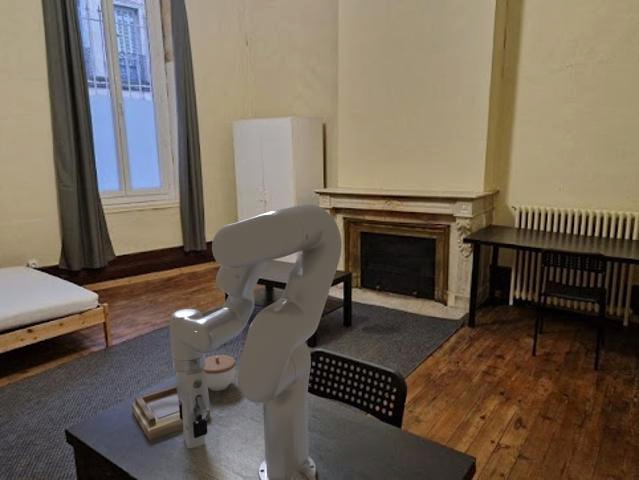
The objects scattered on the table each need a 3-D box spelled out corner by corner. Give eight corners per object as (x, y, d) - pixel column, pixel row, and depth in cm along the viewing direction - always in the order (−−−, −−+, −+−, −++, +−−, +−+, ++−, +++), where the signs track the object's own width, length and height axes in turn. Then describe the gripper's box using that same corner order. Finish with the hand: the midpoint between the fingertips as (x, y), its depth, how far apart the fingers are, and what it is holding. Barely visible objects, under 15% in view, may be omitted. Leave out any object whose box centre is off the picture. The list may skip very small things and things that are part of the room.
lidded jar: (218, 398, 132) (216, 368, 131) (193, 388, 138) (191, 359, 136) (243, 382, 141) (242, 354, 140) (218, 374, 147) (217, 347, 145)
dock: (210, 418, 123) (209, 404, 122) (149, 440, 113) (148, 425, 113) (188, 393, 135) (188, 381, 135) (132, 411, 126) (131, 398, 125)
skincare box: (182, 436, 115) (179, 392, 112) (200, 431, 117) (197, 387, 114) (188, 450, 109) (184, 404, 107) (206, 444, 111) (203, 399, 109)
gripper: (218, 370, 104) (222, 437, 108) (191, 345, 118) (195, 405, 121) (186, 379, 100) (191, 450, 103) (161, 352, 114) (166, 415, 117)
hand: (193, 426), depth 112 cm, fingers open, 9 cm apart
